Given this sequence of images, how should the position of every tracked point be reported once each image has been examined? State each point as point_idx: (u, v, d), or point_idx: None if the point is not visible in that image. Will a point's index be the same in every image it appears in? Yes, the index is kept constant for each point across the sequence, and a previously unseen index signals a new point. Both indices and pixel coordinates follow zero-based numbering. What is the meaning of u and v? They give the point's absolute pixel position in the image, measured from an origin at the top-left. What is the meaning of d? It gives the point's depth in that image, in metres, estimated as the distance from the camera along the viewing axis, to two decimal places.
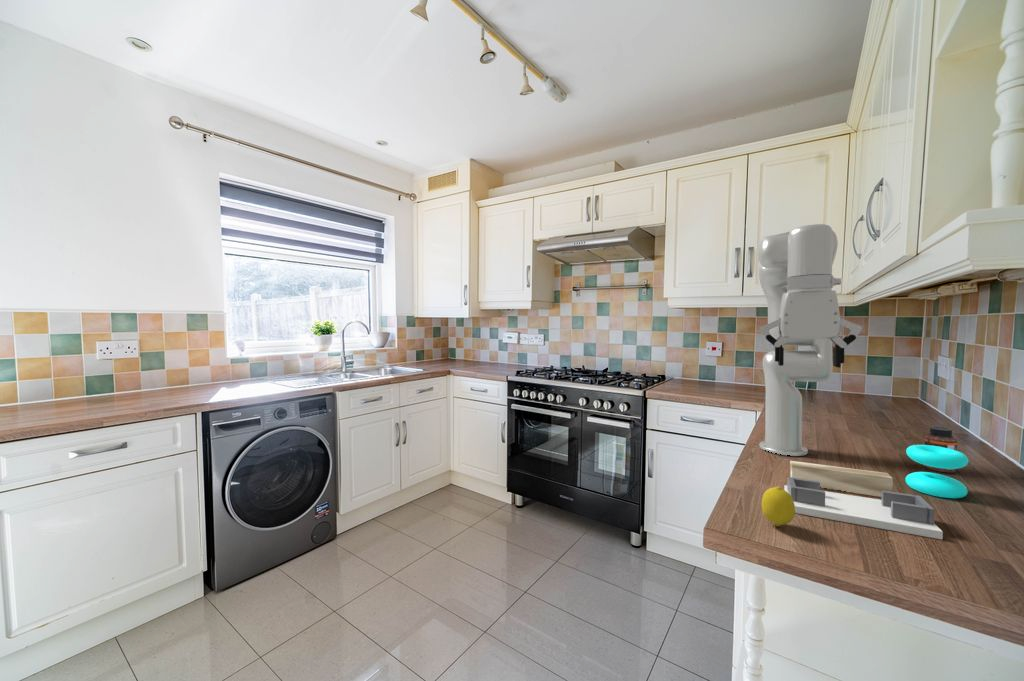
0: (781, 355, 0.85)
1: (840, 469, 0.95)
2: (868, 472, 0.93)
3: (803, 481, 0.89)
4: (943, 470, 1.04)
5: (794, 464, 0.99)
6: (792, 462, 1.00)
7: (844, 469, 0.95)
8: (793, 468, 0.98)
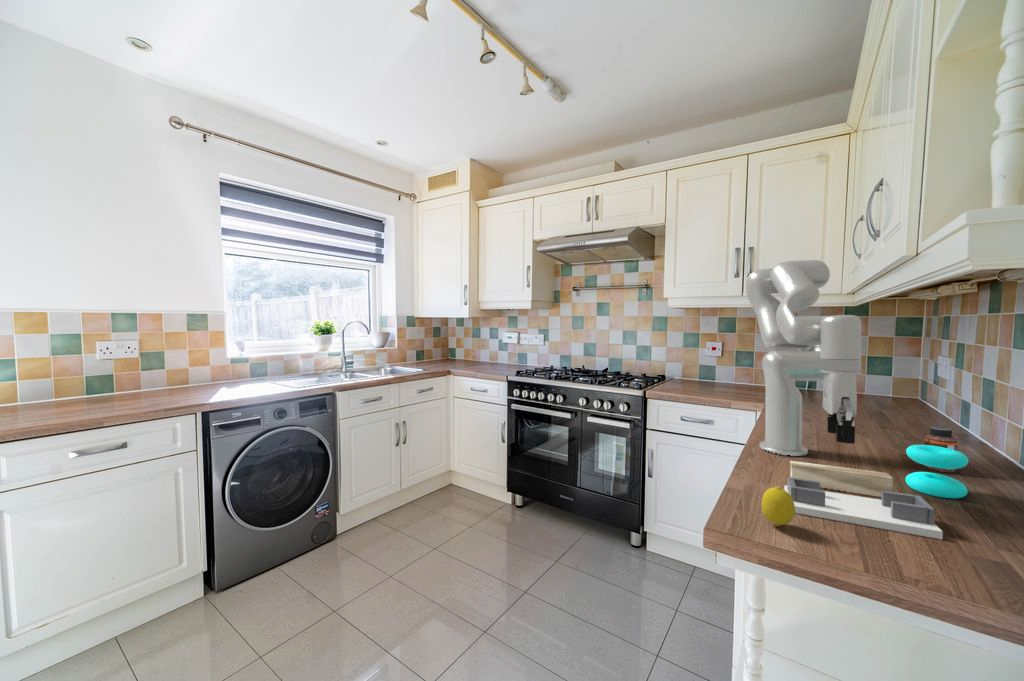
0: None
1: (840, 469, 0.95)
2: (868, 472, 0.93)
3: (803, 481, 0.89)
4: (943, 470, 1.04)
5: (794, 464, 0.99)
6: (792, 462, 1.00)
7: (844, 469, 0.95)
8: (793, 468, 0.98)
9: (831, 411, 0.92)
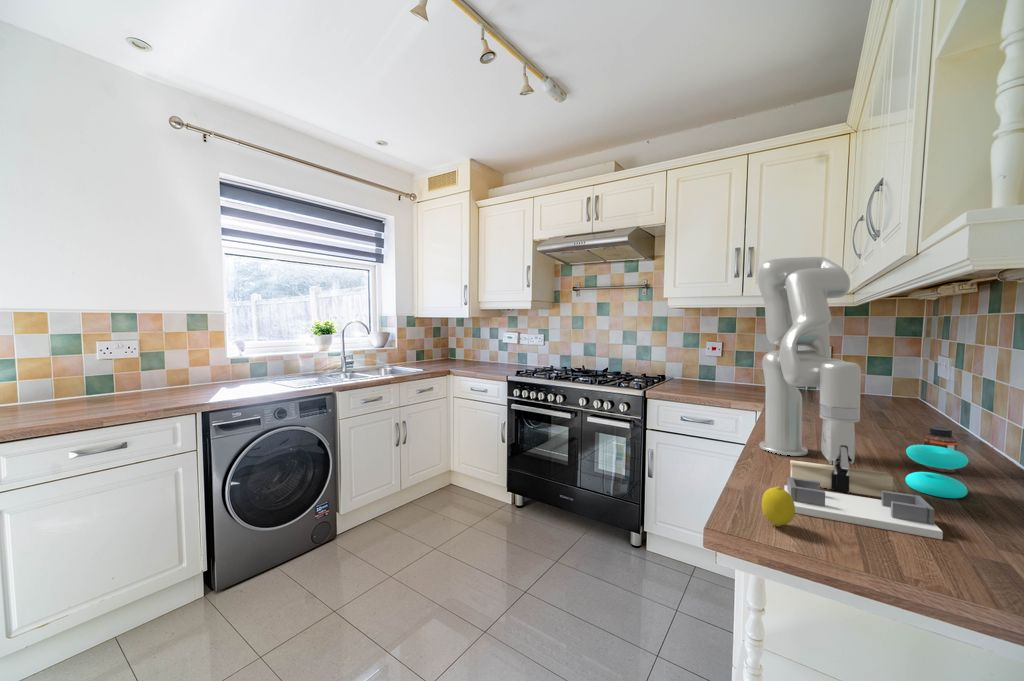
0: (848, 482, 0.93)
1: None
2: (868, 472, 0.93)
3: (803, 481, 0.89)
4: (943, 470, 1.04)
5: (794, 463, 0.99)
6: (792, 462, 1.00)
7: None
8: (793, 467, 0.98)
9: (829, 458, 0.92)
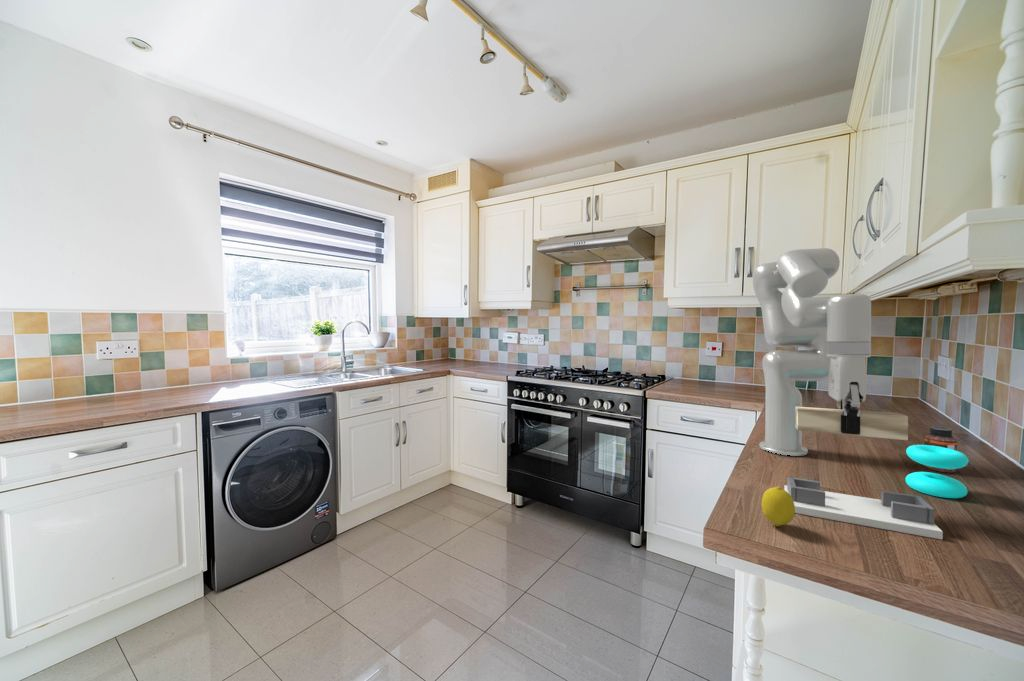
0: (859, 424, 0.86)
1: None
2: (881, 413, 0.86)
3: (803, 481, 0.89)
4: (943, 470, 1.04)
5: (800, 408, 0.92)
6: (798, 407, 0.93)
7: None
8: (799, 412, 0.91)
9: (838, 397, 0.85)
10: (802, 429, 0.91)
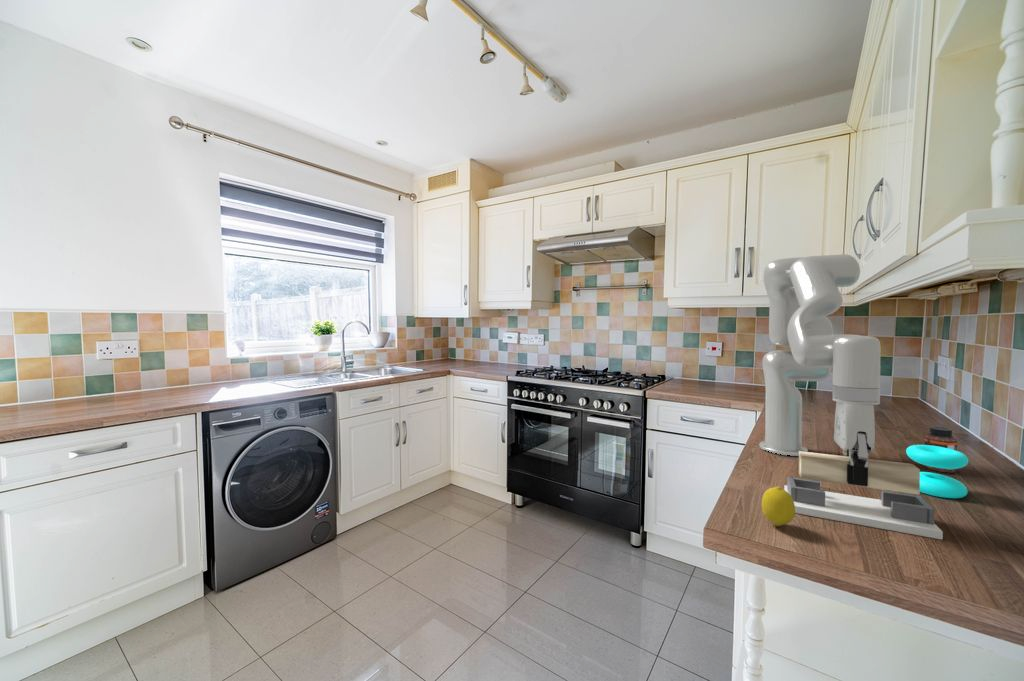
0: None
1: None
2: (890, 463, 0.80)
3: (803, 481, 0.89)
4: (943, 470, 1.04)
5: (803, 454, 0.86)
6: (801, 452, 0.88)
7: None
8: (802, 459, 0.86)
9: (845, 447, 0.80)
10: (806, 477, 0.86)
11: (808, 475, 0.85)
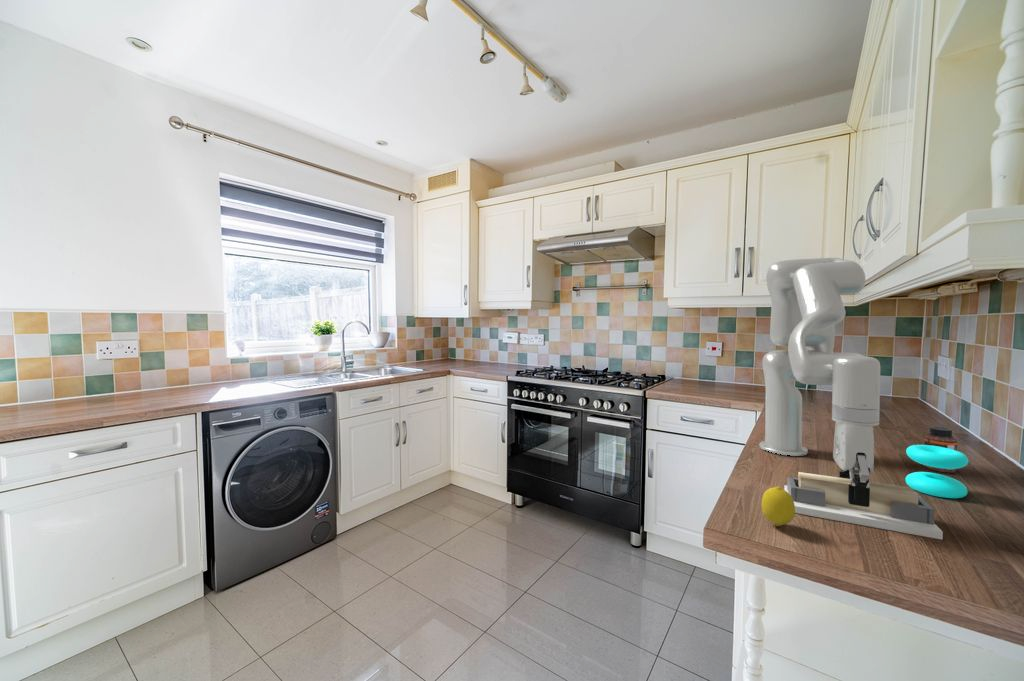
0: None
1: None
2: (889, 486, 0.81)
3: None
4: (943, 470, 1.04)
5: (803, 476, 0.87)
6: (800, 474, 0.88)
7: None
8: (802, 481, 0.86)
9: (844, 467, 0.80)
10: None
11: None
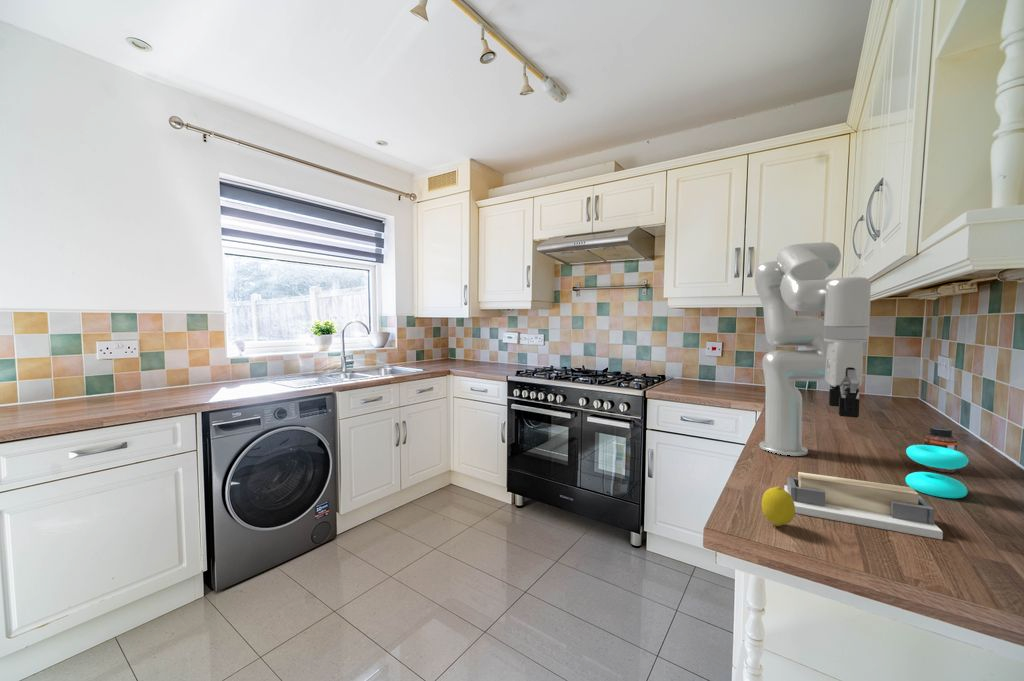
0: (858, 406, 0.82)
1: (856, 482, 0.83)
2: (889, 486, 0.81)
3: None
4: (943, 470, 1.04)
5: (803, 476, 0.87)
6: (800, 474, 0.88)
7: (861, 482, 0.83)
8: (802, 481, 0.86)
9: (834, 383, 0.84)
10: None
11: None
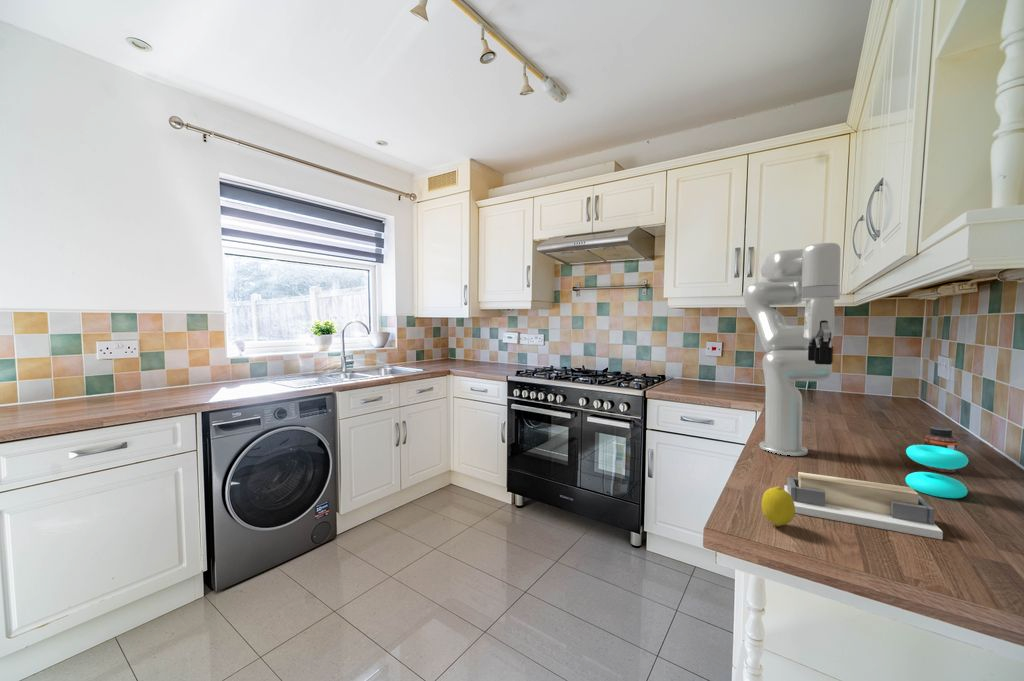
0: (831, 355, 0.94)
1: (856, 482, 0.83)
2: (889, 486, 0.81)
3: None
4: (943, 470, 1.04)
5: (803, 476, 0.87)
6: (800, 474, 0.88)
7: (861, 482, 0.83)
8: (802, 481, 0.86)
9: (810, 335, 0.96)
10: None
11: None
